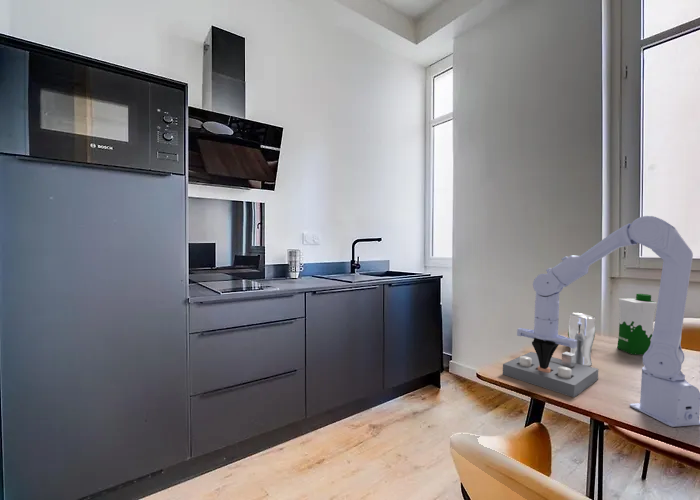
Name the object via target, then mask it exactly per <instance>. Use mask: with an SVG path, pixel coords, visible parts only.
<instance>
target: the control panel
mask: <svg viewBox="0 0 700 500" xmlns="http://www.w3.org/2000/svg"><path fill="white" fill-rule="evenodd" d="M521 356H526V357H530V358H531V359H532V363H531V367H525V366H522V365H520V356H518V357H516V358H513V359H511V360H509V361H506V362H505V363H502V375H503V376H507V377H509V378H512V379H515V380H518V381H522V382H524V383H528V384H531V385H534V386H536V387H540V388H544V389H546V390H550V391H551V392H552V391H553V392H556V393H559V394H562V395H565V396H569V397H570V398H575V397H577V396H578V395H580V394H581V393H582V392H583V391H585V390H586V389H587V388H589V387H590V386H592V385H593V384H595V383H596V382H597V381H598V380H599V368H595V367H593V366H585V365H581V364H577V363H575V365H574V366H573V367H568V368H570V369H571V379H567V378H563V377H560V376H558V367H560V366H562V367H567V366H564V365H561V364H562V358H559V357H558V358H557V357H553V356H552V357H551V360H550V363H549V366H548V367H550V368H551V370H550V373H546V372H543V371H539V370H538V366H540V364H539V360H538V356H537V353H536V352H535V351H534V352H533V351H529V352H526V353H525V354H522V355H521Z"/></svg>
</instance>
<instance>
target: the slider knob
mask: <svg viewBox="0 0 700 500" xmlns="http://www.w3.org/2000/svg"><path fill="white" fill-rule="evenodd" d="M561 359H562V364H561V365H564V366H567V367H573V366H574V365H575V354H574V353H571V351H570V352H568V351H565V352H562V353H561Z"/></svg>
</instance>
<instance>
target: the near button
mask: <svg viewBox="0 0 700 500" xmlns="http://www.w3.org/2000/svg"><path fill="white" fill-rule="evenodd" d="M558 376H560V377H563V378H567V379H571V369H570V368H568V367H562V366H560V367H558Z"/></svg>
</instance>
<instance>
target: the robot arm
mask: <svg viewBox="0 0 700 500" xmlns="http://www.w3.org/2000/svg"><path fill="white" fill-rule="evenodd" d="M638 244H639V245H641V246H643V247H646V248H648V249H650V250H651V251H652V252H653V253H655V254H656V255H657V256H658V257H659V258H660V259H662V262H663V263H662V269H661V276H660V281H659V290H658V298H657V302H656V303H657V307H656V310H655V316H654V323H653V335H652V339H651V344H650V346H649V349H648V350H647V351H646V352H645V354H644V355H642V364H643V366H642V367H641V379H640V381H641V382H640V383H641V384H640V396H639V397H640V400H639V402H636V403H634V402H633V403H629V406H630V407H631V408H633V409H635V410H636V411H639V412H641V413H643V414H645V415H647V416H649V417H651V418H653V419H655V420H657V421H659V422H660V423H663V424H665V425H667V426H669V427H672V428H674V427H677V428H678V427H686V426H687V427H688V426H699V425H700V390H699V388H698V387H696V386H695V385H693V384H691V383H689V381H687V380H686V374H684V373H683V372H682V365H683V363H684V361H685V353H684V351H683V349H682V346H681V341H682V333H683V325H684V318H685V312H686V311H685V310H686V304H687V298H688V292H689V284H690V278H691V271H692V264H693V259H694V258H693V257H694V255H693V254H694V253H693V251H692V249H691V247H690V246H689V245H688V244H687V242H686V240H684V238H683V237H682V235H680V233H679V232H678V230H677V228H676V227H675V226H673V225H671V224H670V223H669V222H667V220H664V219H662V218H659V217H656V216H653V215H644V216H639V217H638V218H636V219H634V220H633V221H632V222H631V223H627V224H624V225H623V226H621V227H620V228H618V229H616V230H614V231H612V232H611V233H610V234H608V235H607V236H606V237H605V238H603V239H602V240H600V241H598V242H597V243H596V244H595V245H593V246H592V247H590V248H589V249H587V250H586V251H585V252H583V253H582V254H581V255H573V254H572V255H569V256H567V255H566V256H564V257H562V258H561V260H562V261H560V262H559V263H558V264H556V265H555V266H553V267H548V268H547V269H546V270H545V271H546V273H540V274H538V275H537V276H536V277H535V278H534V280H533V281H532V287H533V290H534V291H535V301H534V303H535V304H534V318H533V319H534V320H533V321H534V322H533V323H534V325H533V329H529V328H522V327H518V328H517V330H516V336H518V337H525V338H529V339H532V341H531V346H532V347H533V348H534V352H535V353H537V356H538V360H539V364H540V368H543V369H546V368H548V366H549V363H550V360H551V357H553V355H554V353H555V351H556V350H557V349H558V347H559V346H564V347H569V349H571V348H573V349H574V348H576V347H577V340H575V339H571V338H569V337H567V336H564V335H561V334H559V317H560V316H559V315H560V293H561V292H562V291H563V289H564V288H565V287H568V286H569V285H571V284H573V283H574V282H576V281H577V280H579V279H580V278H582V277H585V276H586V275H587V274H588V273H589V270H590V269H589V268H590V266H591V265H593V264H594V263H596V262H598V261H601V260H602V259H603V258H605V257H606V256H608V255H610V254H611V253H614V252H615V251H616V250H619V249H620V248H622V247H629V246H636V245H638Z"/></svg>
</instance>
